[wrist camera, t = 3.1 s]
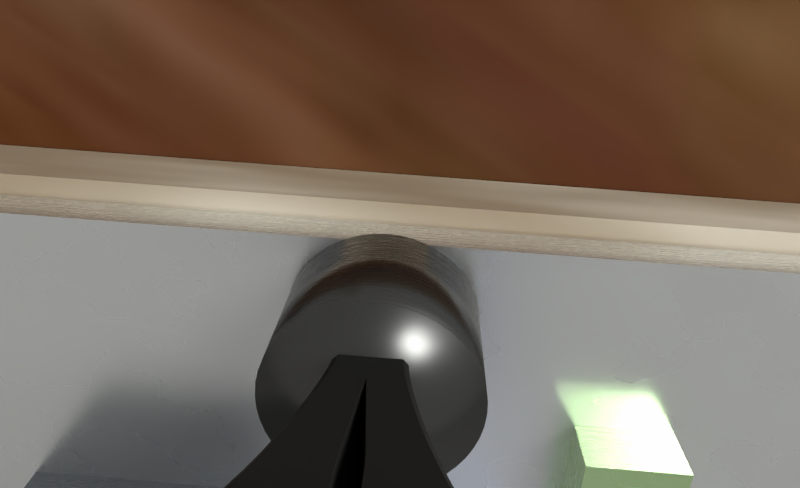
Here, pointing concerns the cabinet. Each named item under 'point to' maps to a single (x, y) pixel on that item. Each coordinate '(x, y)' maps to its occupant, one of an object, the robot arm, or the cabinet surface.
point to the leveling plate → (549, 353)
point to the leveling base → (401, 199)
